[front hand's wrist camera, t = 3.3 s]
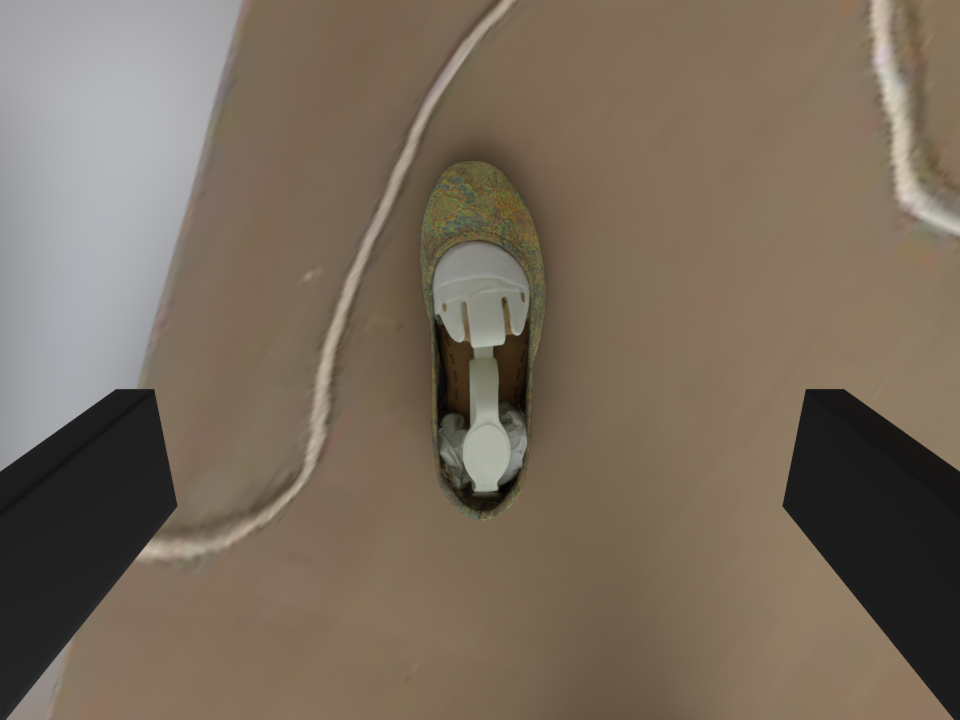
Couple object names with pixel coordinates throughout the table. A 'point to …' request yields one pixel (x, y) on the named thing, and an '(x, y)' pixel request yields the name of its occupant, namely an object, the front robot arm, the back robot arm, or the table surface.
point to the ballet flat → (481, 334)
